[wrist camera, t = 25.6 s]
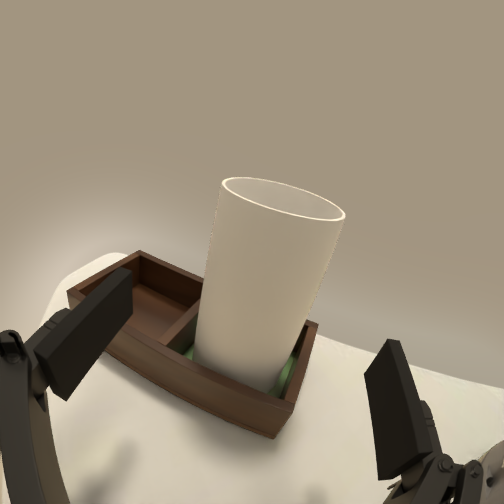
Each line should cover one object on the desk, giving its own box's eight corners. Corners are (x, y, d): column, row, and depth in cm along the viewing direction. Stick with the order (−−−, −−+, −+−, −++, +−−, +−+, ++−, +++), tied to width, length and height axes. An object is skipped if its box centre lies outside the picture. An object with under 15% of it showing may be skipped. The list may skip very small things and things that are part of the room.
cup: (194, 329, 27) (222, 170, 20) (272, 338, 29) (321, 192, 22) (189, 395, 20) (220, 201, 13) (285, 401, 21) (367, 231, 15)
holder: (273, 439, 18) (292, 413, 16) (73, 326, 23) (66, 290, 21) (303, 354, 28) (318, 323, 26) (138, 281, 33) (139, 249, 31)
